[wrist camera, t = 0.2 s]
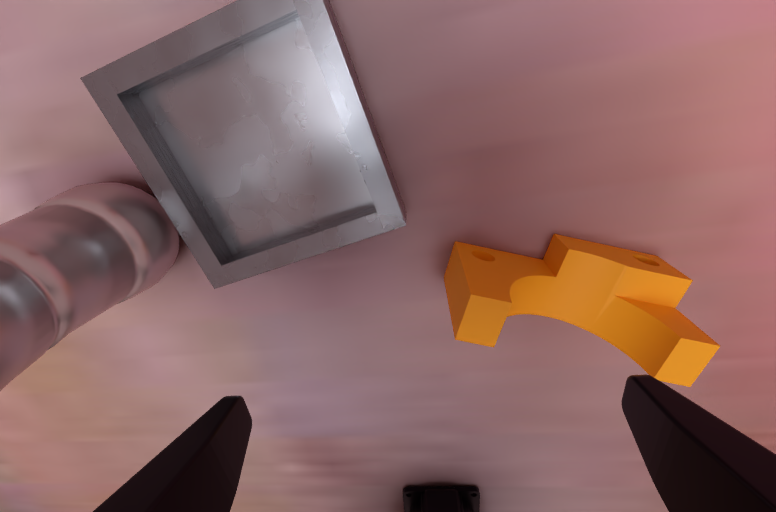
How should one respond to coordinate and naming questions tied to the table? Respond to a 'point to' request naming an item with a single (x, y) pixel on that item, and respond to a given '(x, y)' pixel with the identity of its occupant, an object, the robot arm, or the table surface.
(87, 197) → the plastic bottle
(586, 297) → the orange stepped block
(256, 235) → the tray
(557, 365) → the table surface
